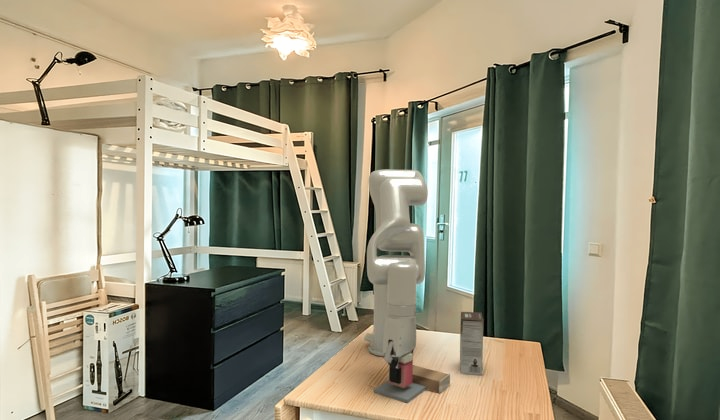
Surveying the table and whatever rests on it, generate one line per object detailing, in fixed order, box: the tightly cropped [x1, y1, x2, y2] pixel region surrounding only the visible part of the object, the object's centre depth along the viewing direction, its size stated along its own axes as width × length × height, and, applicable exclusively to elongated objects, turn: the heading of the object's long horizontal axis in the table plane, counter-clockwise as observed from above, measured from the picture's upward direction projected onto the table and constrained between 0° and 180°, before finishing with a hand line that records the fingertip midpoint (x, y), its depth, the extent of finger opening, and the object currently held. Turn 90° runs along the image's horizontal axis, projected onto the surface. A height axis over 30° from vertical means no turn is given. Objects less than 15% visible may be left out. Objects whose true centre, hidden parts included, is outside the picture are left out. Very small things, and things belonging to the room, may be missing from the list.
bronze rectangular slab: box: [412, 364, 451, 394], centre depth 119 cm, size 12×6×3 cm, turn 54°
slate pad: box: [373, 379, 427, 404], centre depth 114 cm, size 10×10×1 cm
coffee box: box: [459, 311, 484, 376], centre depth 130 cm, size 9×6×16 cm
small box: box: [389, 352, 414, 388], centre depth 114 cm, size 5×4×8 cm
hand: (400, 378), depth 114 cm, fingers closed on small box, 4 cm apart
